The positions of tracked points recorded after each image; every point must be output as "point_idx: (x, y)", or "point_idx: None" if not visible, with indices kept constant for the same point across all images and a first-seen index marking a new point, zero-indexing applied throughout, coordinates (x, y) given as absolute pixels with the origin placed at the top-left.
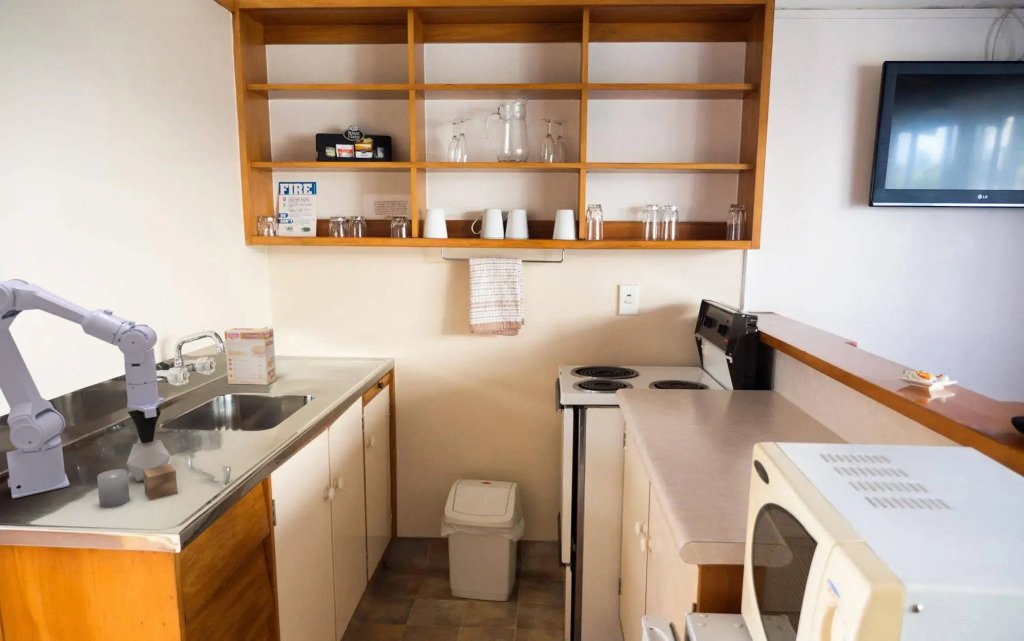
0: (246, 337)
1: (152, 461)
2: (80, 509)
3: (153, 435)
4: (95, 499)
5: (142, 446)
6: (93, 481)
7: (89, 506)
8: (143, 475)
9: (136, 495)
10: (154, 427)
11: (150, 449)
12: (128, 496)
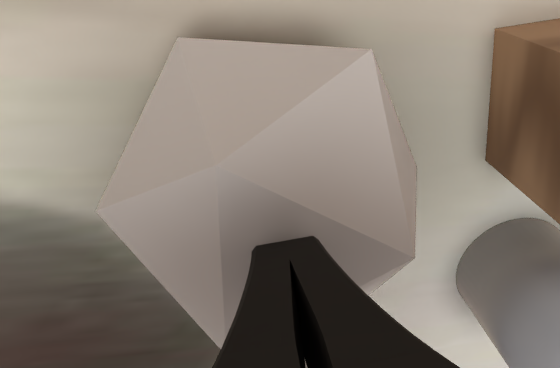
0: None
1: (411, 175)
2: (487, 360)
3: (338, 267)
4: (418, 330)
5: None
6: (176, 360)
7: (480, 339)
8: (541, 207)
9: (497, 194)
10: (401, 327)
11: (410, 229)
12: (555, 232)
